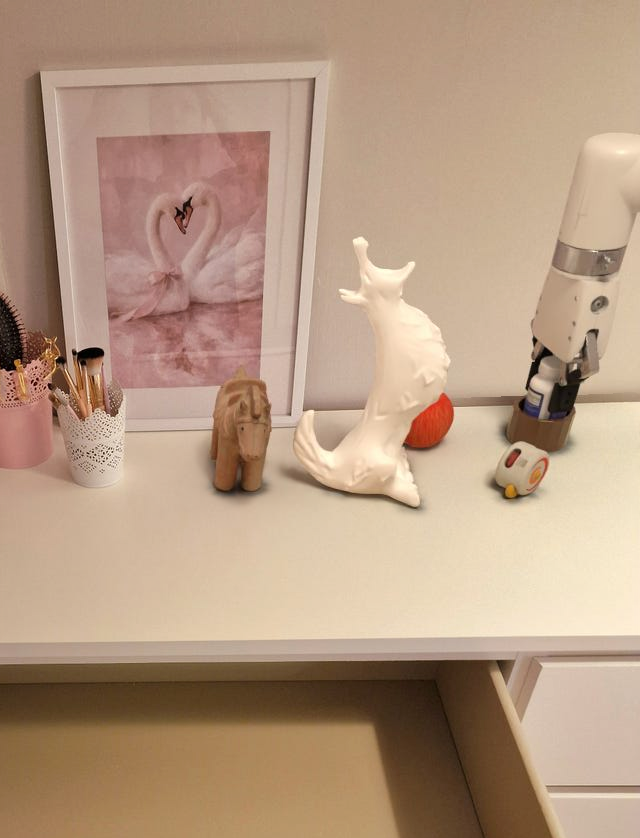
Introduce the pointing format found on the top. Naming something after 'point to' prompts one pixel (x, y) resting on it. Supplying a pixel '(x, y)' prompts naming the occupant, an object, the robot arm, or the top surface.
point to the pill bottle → (544, 389)
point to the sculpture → (382, 391)
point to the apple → (431, 424)
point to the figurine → (240, 431)
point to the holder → (538, 428)
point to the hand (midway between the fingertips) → (548, 399)
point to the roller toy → (521, 469)
